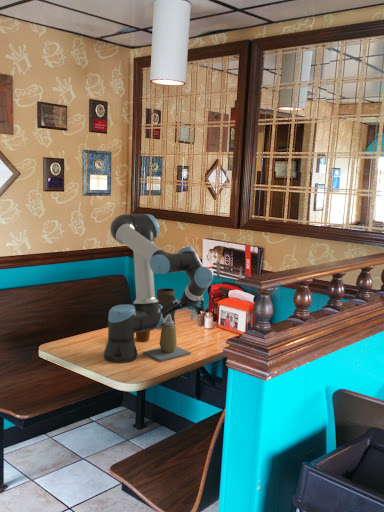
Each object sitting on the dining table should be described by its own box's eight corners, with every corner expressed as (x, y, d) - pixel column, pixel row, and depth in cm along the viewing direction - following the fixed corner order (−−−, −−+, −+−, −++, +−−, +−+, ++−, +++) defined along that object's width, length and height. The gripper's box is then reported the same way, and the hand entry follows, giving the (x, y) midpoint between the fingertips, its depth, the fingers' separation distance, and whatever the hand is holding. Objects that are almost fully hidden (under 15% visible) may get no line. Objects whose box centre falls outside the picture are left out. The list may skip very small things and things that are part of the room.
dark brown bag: (151, 323, 295) (152, 288, 292) (165, 320, 302) (167, 286, 299) (168, 330, 284) (170, 294, 281) (183, 327, 291) (185, 292, 288)
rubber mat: (160, 362, 237) (160, 359, 237) (143, 353, 247) (143, 351, 247) (190, 354, 249) (190, 352, 249) (172, 346, 259) (172, 344, 259)
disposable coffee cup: (143, 344, 260) (144, 320, 258) (129, 339, 266) (129, 316, 264) (156, 339, 268) (156, 316, 266) (142, 335, 273) (142, 313, 272)
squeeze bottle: (174, 354, 245) (175, 316, 242) (157, 352, 246) (158, 315, 243) (178, 349, 253) (179, 312, 250) (161, 347, 254) (163, 310, 251)
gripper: (167, 303, 215) (153, 328, 231) (222, 300, 225) (204, 324, 241) (163, 287, 219) (149, 313, 234) (217, 285, 229) (200, 310, 245)
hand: (177, 319), depth 238 cm, fingers open, 13 cm apart
